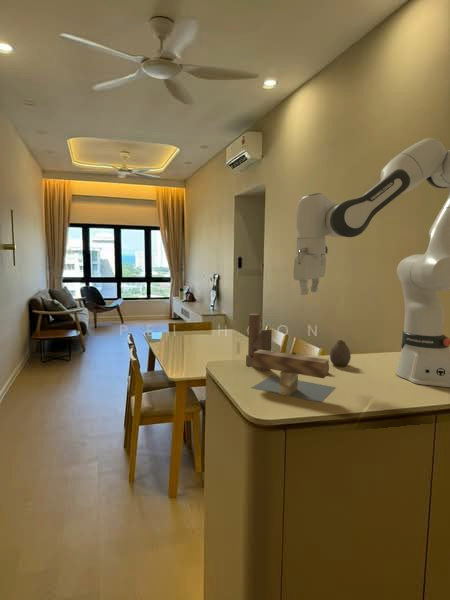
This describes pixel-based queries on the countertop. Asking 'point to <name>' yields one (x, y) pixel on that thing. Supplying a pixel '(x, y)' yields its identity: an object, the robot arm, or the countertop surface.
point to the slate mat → (304, 389)
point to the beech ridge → (288, 383)
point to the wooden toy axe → (257, 340)
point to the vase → (340, 354)
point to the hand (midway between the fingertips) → (309, 293)
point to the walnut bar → (291, 363)
